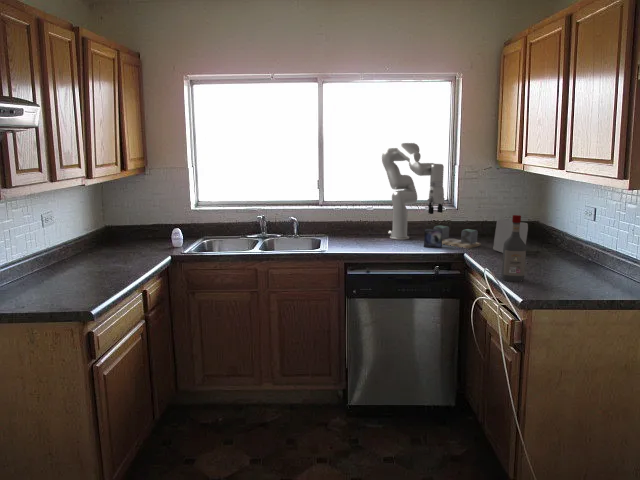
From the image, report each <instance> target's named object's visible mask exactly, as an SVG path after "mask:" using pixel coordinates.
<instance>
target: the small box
mask: <svg viewBox="0 0 640 480" xmlns="http://www.w3.org/2000/svg"><path fill="white" fill-rule="evenodd" d="M442 233H443V230H438V229H434V228H433V229H432V228H425V229H424V238H423V239H424V240H423V247H424V248H432V249H434V248H435V249H442V247H443V244H442Z"/></svg>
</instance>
